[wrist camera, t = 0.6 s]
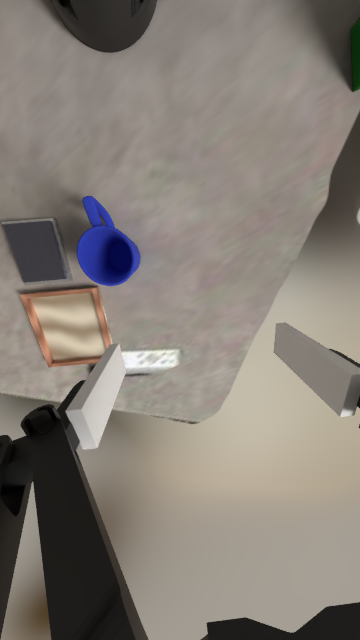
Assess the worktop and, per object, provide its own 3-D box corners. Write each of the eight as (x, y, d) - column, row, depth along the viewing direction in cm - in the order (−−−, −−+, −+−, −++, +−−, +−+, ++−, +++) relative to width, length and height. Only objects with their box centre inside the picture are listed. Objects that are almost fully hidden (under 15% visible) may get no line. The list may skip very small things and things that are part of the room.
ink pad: (5, 222, 32) (-3, 221, 31) (55, 218, 32) (50, 217, 31) (27, 284, 36) (22, 285, 35) (73, 280, 36) (69, 281, 35)
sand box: (27, 293, 36) (19, 295, 35) (99, 286, 37) (95, 288, 35) (53, 362, 42) (48, 367, 40) (115, 356, 42) (113, 361, 41)
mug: (129, 205, 32) (113, 184, 23) (150, 272, 36) (142, 278, 27) (86, 217, 32) (52, 201, 23) (111, 282, 37) (90, 292, 27)
